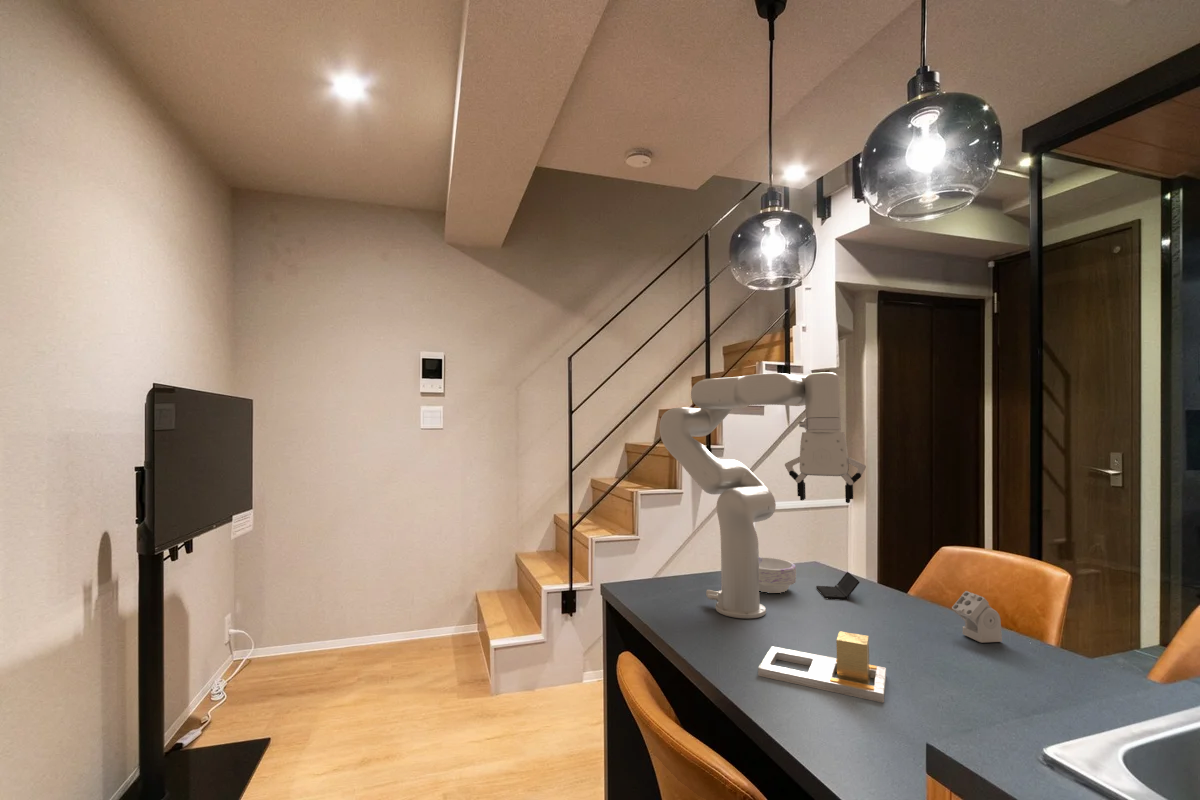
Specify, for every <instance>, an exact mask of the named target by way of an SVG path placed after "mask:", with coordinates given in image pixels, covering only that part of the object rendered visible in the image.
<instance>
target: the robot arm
mask: <svg viewBox="0 0 1200 800" xmlns="http://www.w3.org/2000/svg"><path fill="white" fill-rule="evenodd" d="M840 381H841V380H840V376H839V374H837V373H835V372H828V371H827V372H825V371H824V372H812V373H809V374H807V375H797V374H789V373H783V372H782V373H781V372H773V373H758V374H756V373H755V374H747V375H742V376H733V377H731V376H730V377H718V378H716V377H715V378H705V379H702V380H699V381H697V382H696V383H694V385H693V386H692V387H691V390H690V398H691V401H692V403H694V405H696V406H697V407H698V408H697V407H684V406H683V407H674V408H669V409H668V410H667V411H665V412H664V413H663V414H662V415H661V417H660V421H659V435H660V440H661V441H662V444H663V446H664V448H666V450H667V451H668V452H669V454H670V455H671V456H672V457H673V458H674V459H675V460H676V461H678V463H679V464H680V465H681V466H682V467H683V469H684V470H685V471H686V472H687V474H688V475H689V476H690V477H691V478H692V479H693V480H694V481H695V482H696V484H697V485H698V486H699V488H701V489H702V490H703V491H704V492H705V493H707V494H709V495H719V497H718V498H717V501H716V514H717V519H718V525H719V534H720V565H721V566H720V572H721V573H720V574H721V576H720V579H721V581H720V582H721V584H720V585H721V590H720V589H719V590H718V591H716V590H712V589H706V594H705V595H706V597H707V600H711V601H713V600H714V601H716V604H715V610H716V612H717V613H718V614H721V615H724V616H726V617H730V618H734V619H735V618H736V619H757V618H758V619H759V618H761V617H763V616H765V615H766V614H767V608H766V606H764V605H763V604H761V603H760V592H759V557H760V551H759V538H758V534H757V532H756V528H755V525H754V523H757V522H758V523H759V522H762V521H765V520H768V519H770V518H771V517H772V516H773V515H774V514H775V511H776V499H775V497H774V495H773V493H772V491H771V490H770V488H768V486H767V485H766V484H764V483H763V481H761V479H759V478H758V476H757V475H755V473H753V472H752V470H750V468H749V467H747V466H746V465H745V464H744V463H742V462H741V461H739V460H736V459H731V458H725V459H723V458H721V459H720V458H718V457H716V456H715V455H714V454H713V453H712V452H711V451H709V449H708V448H707V447H706V445H704V444H703V443H701V442H700V441H698V440H697V439H695V438H694V437H699V438H701V437H706V436H708V435H710V434H711V433H712V432H713V431H714V430H715V429H716V428H717V427H718V426H719V425H720V424H721V422H722V421H723V420H724V419H726V417H727V416H728V415H729V414H730V413H731V412H732V410H743V409H746V408H748V407H749V406H762V405H763V406H766V405H767V406H768V405H770V406H771V405H772V406H773V405H774V406H790V407H791V406H793V407H802V406H804V407H805V410H804V411H805V419H804V420H802V421H798V424H799V425H798V426H799V428H804V429H805V432H804V431H803V432H802V433H801V437H800V438H801V440H800V447H799V456H798V457H795V458H793V459H792V460H789V461H787V462H785V463H784V467H785V469H786V471H787V472H788V474H789V476H790V477H791V478H792V479H793V480H794V481H795V482H796V483H797V485H796V486H797V489H796V491H797V497H799V500H800V501H804V500H806V482H805V479H806V478H807V476H816V477H817V476H819V477H822V476H823V477H841V478H842V479H843V480H844V481H845V483H846V484H845V486H844V490H845V491H844V492H845V495H844V496H845V503H846V504H850V503H851V500H854V484H855V483H856V482H857V481H858V480H859V479H861V478H862V476H863V474H864V473H865V471H866V468H867V465H866V464H863V463H862V462H860V461H858V460H855V459H853V458H852V457H849V454H848V453H849V452H848V451H849V450H848V445H847V444H848V443H847V439H846V434H845V432H844V431H842V420H841V419H842V418H841V416H842V413H841V412H842V411H841V410H842V409H841V384H840V383H841V382H840ZM797 464H798V465H799V472H800V474H798V473H797V472H796V471H795V470H794V466H795V465H797ZM849 465H851V466H853V467H856V469H857V470H856V471H855V472H856V473H855V474H853V475H852V476H851V475H850V474H849V467H850V466H849Z"/></svg>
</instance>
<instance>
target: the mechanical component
mask: <svg viewBox="0 0 1200 800" xmlns="http://www.w3.org/2000/svg"><path fill="white" fill-rule="evenodd" d="M951 609H952V610H953V611H954V612H955V613H956V614H957V615H958V616H959V617H960V618H961V619H962V620H963V621H964V623H965V624H964V626H963V625H962V635H964V636H966V637H968V638H970V639H972V640H975V641H977V642H979V643H1002V642H1003V634H1002V624H1001V622H1002V619H1001V616H1000V614H999V612H998V611H997V610H995V609H994V608H992V607H991V606H990V604H989V601H988V600H987V599H986V597H983V596H981V595H979V594H977V593H973V592H970V591H968V590H965V591H964V592H963V593H962V594H961V596H960V597H959V598H958V599H957V601H956V602H955V603H954V604H953V605H952V606H951Z"/></svg>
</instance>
